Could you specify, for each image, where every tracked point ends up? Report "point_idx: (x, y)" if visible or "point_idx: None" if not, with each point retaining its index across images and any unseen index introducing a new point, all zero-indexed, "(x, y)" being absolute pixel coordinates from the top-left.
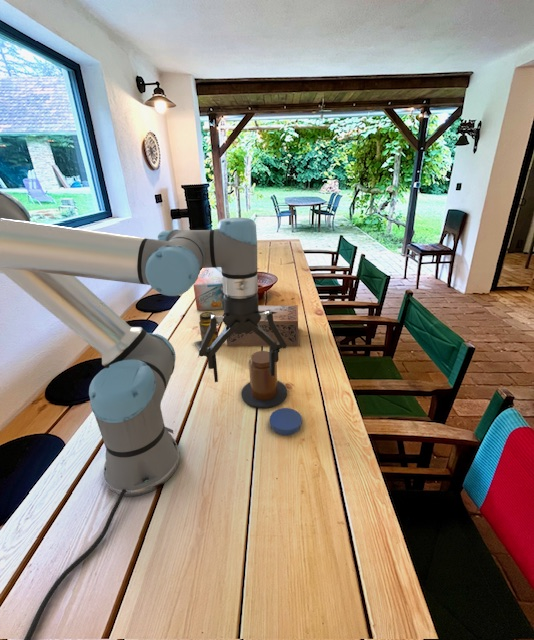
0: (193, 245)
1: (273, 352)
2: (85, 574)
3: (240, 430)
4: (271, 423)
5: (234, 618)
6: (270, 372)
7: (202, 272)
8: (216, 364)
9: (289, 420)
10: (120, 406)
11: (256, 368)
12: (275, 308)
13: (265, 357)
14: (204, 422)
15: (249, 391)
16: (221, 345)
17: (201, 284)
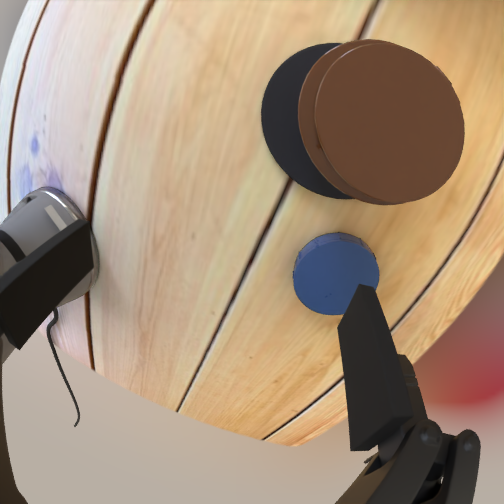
0: None
1: (363, 450)
2: (61, 332)
3: (218, 238)
4: (294, 280)
5: (174, 407)
6: (347, 312)
7: None
8: (40, 324)
9: (341, 291)
10: None
11: (322, 171)
12: None
13: (411, 142)
14: (138, 173)
15: (296, 92)
16: (3, 420)
17: None
